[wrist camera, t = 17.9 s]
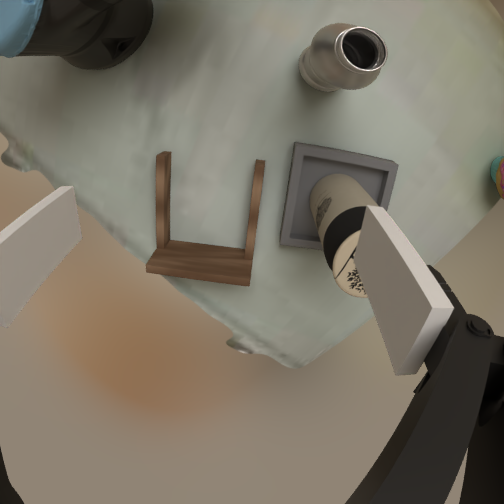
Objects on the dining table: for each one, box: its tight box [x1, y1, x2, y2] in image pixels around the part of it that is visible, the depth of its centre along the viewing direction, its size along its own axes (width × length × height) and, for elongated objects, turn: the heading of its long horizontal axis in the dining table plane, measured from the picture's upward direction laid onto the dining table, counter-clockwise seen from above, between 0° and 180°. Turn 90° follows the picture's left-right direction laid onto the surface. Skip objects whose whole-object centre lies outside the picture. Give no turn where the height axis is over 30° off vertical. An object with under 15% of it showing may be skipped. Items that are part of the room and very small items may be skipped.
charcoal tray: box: [280, 142, 398, 250], centre depth 43 cm, size 14×14×2 cm
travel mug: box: [309, 174, 379, 298], centre depth 35 cm, size 8×8×18 cm
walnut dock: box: [146, 151, 265, 286], centre depth 42 cm, size 15×14×8 cm
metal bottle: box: [298, 23, 388, 92], centre depth 27 cm, size 6×7×20 cm
